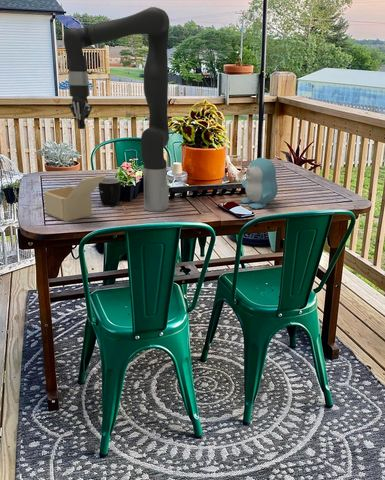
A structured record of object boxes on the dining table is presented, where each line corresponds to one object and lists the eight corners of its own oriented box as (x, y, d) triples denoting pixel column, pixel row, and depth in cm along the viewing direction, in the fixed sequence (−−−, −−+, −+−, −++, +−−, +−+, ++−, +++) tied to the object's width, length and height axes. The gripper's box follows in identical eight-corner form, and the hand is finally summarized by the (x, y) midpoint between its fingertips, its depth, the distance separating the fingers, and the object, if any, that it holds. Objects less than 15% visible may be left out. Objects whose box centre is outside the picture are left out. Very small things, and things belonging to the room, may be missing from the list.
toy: (232, 198, 220) (235, 153, 213) (260, 195, 225) (264, 152, 218) (257, 213, 200) (261, 164, 192) (288, 210, 204) (292, 162, 197)
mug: (97, 201, 210) (96, 178, 207) (118, 200, 213) (117, 177, 210) (102, 210, 200) (101, 185, 196) (124, 208, 203) (123, 184, 199)
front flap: (81, 179, 172) (82, 180, 172) (105, 174, 180) (106, 175, 180) (66, 198, 182) (67, 199, 182) (89, 193, 190) (90, 194, 189)
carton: (44, 213, 194) (42, 191, 191) (71, 206, 203) (70, 185, 200) (64, 222, 185) (63, 198, 182) (93, 214, 194) (91, 192, 191)
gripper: (60, 83, 193) (64, 127, 199) (80, 85, 185) (83, 131, 191) (77, 82, 198) (79, 126, 204) (97, 84, 190) (99, 129, 196)
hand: (81, 128), depth 198 cm, fingers closed
